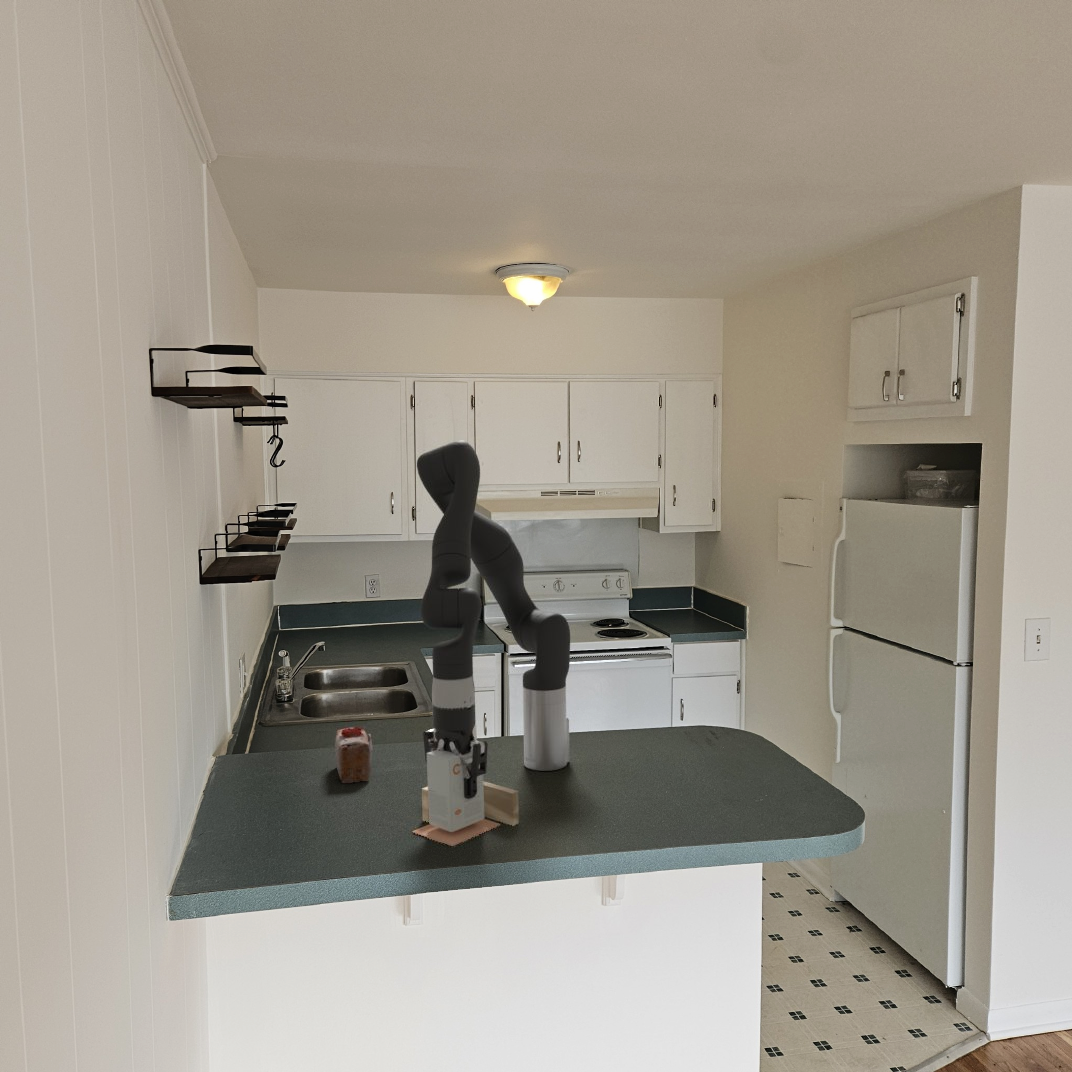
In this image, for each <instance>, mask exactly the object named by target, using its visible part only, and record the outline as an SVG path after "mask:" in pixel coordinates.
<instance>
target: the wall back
mask: <svg viewBox="0 0 1072 1072" xmlns="http://www.w3.org/2000/svg"><path fill="white" fill-rule="evenodd" d="M483 786H484V818H486V817H487V818H486V819H489V818H491V819H490V820H493V821H496V822H499V821H500V822H499V823H502V822H503V824H505V823H506V824H505V825H508V824H509V825H510V826H511V825H512V827H514V826H516V824H517V825H518V824H519V817H520V816H519V815H520V814H519V791H518V790H516V789H512V788H508V787H507V786H506V787H505V786H502V785H498V784H495V783H491V782H487V781H484V780H483Z"/></svg>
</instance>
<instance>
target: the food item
mask: <svg viewBox="0 0 1072 1072" xmlns="http://www.w3.org/2000/svg"><path fill="white" fill-rule="evenodd" d="M365 728H366V726H364V727H363V728H361V727H360V726H356V727H355V726H354V727H347V728H343V729H341V728H340V729H338V730H337V731H336V734H335V741H334V742H335V743H334V745H335V746H334V755H335V764H336V769H337V773H338V776H339V779H340V780H341V783H343V784H347V783H348V784H351V783H353V782H355V783H360V781H367V782H369V781H370V779H371V776H372V759H373V743H372V736H371V735H372V734H371V733H367V732H366V731H365ZM353 784H354V783H353Z"/></svg>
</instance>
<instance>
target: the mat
mask: <svg viewBox="0 0 1072 1072" xmlns="http://www.w3.org/2000/svg"><path fill="white" fill-rule="evenodd" d="M499 825H500V826H501V823H500V822H499V823H498V822H497V821H496V822H495V821H494V820H493V821H492V820H490V819H487V818H484V819H483V820H481V821H478V822H476V823H473V824H471V825H469V826H466V827H464V828H461V829H459V830H457V831H454V832H449V831H446V830H444V829H441V828H439V827H436V826H433V825H431V824H427V825H425V826H424V825H423V826H422V827H420V828H417V829H415V830H412V832H413V833H412V832H411V833H412V834H414V833H415V835H417V834H418V835H417V836H419V835H421V836H420V837H422V836H424V837H423V838H425V837H427V838H426V839H428V838H429V840H431V839H432V840H431V841H433V840H435V841H434V842H436V841H438V842H437V843H439V842H442V843H445V844H448V845H451V846H454V845H456V844H459V843H461V842H463V843H465V842H467V841H469V840H468V839H470V840H471V838H472V837H474V838H475V836H476V837H479V836H480V835H479V834H481V835H483V834H484V832H485V833H487V832H490V831H491V829H492V830H494V829H496V828H498V827H500V826H499ZM497 826H498V827H497ZM493 828H494V829H493ZM486 831H487V832H486ZM482 833H483V834H482ZM472 839H473V838H472ZM466 840H467V841H466ZM464 841H465V842H464ZM442 843H441V844H442ZM445 844H444V845H445ZM461 844H462V843H461ZM459 845H460V844H459ZM454 847H455V846H454Z"/></svg>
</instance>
